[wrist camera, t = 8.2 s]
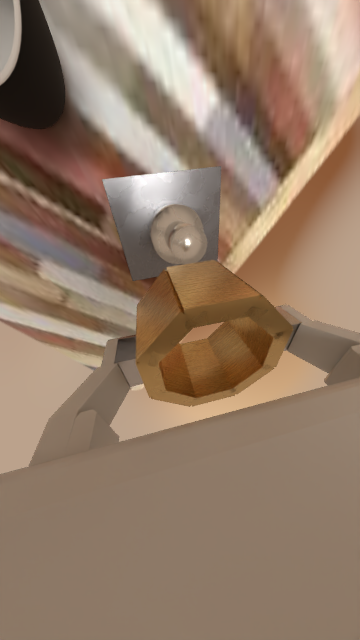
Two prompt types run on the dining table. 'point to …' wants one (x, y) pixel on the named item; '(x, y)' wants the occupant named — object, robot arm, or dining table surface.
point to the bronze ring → (219, 348)
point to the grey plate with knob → (166, 218)
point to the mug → (28, 67)
